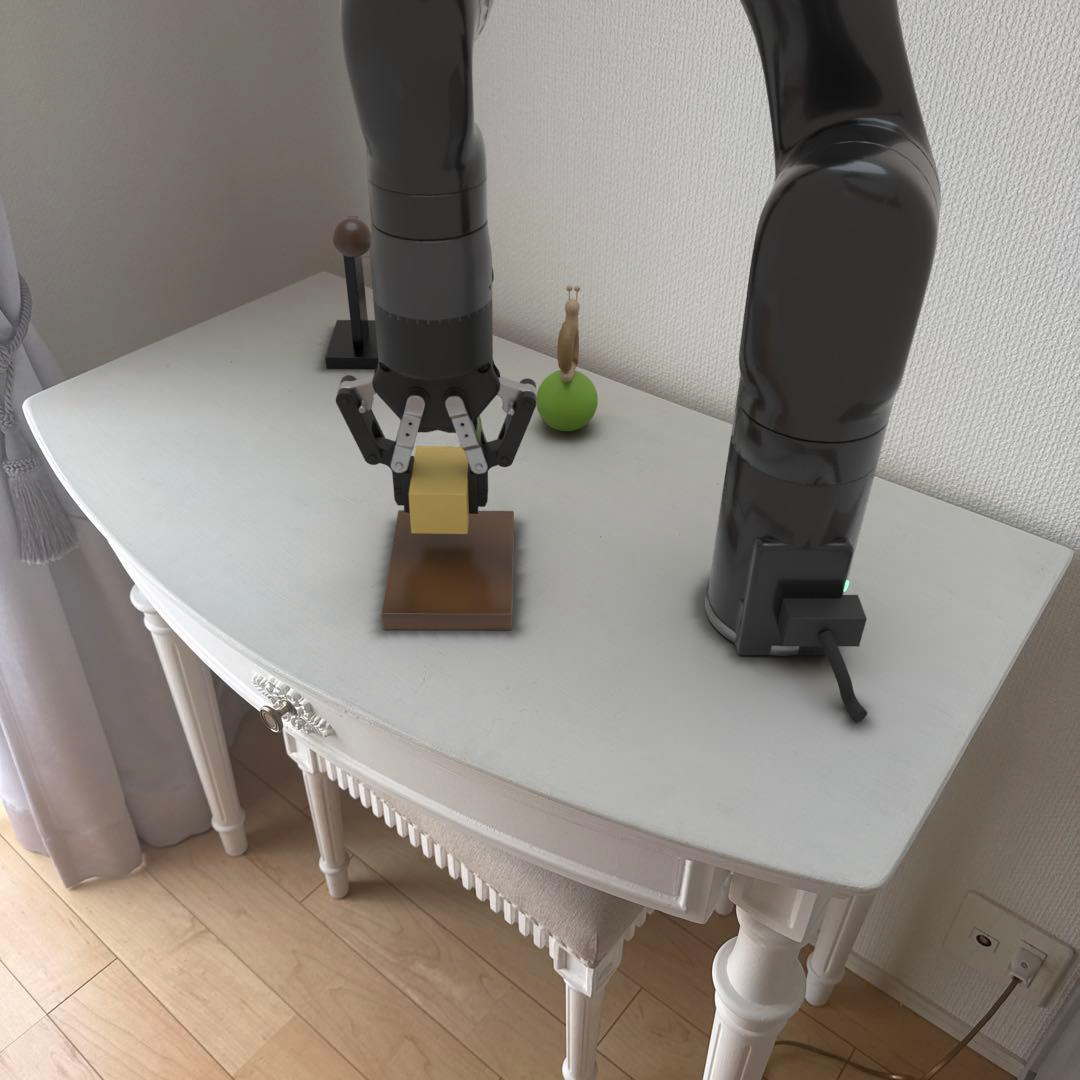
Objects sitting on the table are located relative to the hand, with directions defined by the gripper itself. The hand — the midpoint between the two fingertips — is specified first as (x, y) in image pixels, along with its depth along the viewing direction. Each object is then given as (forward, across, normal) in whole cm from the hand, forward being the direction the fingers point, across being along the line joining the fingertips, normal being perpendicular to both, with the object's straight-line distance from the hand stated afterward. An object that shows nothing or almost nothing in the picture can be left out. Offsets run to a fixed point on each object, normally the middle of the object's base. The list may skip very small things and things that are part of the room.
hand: (442, 505), depth 76 cm
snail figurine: (+5, +10, +19) cm, 22 cm away
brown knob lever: (-7, -8, +27) cm, 29 cm away
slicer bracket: (+5, -8, +33) cm, 34 cm away
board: (+5, +1, -2) cm, 5 cm away
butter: (0, 0, 0) cm, 0 cm away
